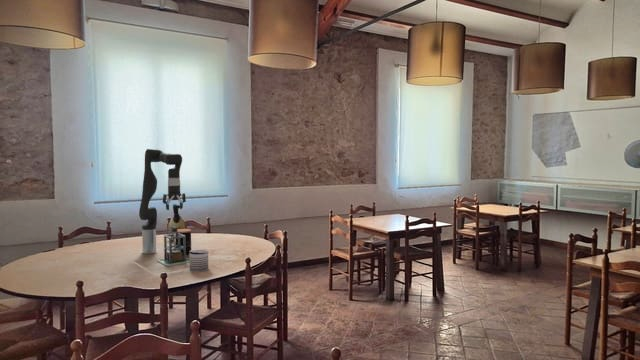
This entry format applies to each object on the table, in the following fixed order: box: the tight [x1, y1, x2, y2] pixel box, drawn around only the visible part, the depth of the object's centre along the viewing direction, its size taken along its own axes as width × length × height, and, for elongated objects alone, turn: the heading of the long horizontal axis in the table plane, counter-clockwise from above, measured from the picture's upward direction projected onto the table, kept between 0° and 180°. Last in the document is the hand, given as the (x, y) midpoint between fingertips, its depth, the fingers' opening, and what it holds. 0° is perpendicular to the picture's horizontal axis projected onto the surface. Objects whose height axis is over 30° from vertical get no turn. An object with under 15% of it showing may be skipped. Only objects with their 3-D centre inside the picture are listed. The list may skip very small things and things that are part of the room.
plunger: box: [172, 227, 180, 253], centre depth 284 cm, size 7×7×16 cm
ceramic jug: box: [167, 203, 188, 242], centre depth 355 cm, size 17×15×30 cm
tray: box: [156, 256, 190, 267], centre depth 285 cm, size 16×18×2 cm
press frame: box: [163, 233, 187, 264], centre depth 284 cm, size 11×11×17 cm
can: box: [189, 249, 209, 273], centre depth 270 cm, size 11×11×12 cm
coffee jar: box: [176, 228, 192, 257], centre depth 304 cm, size 11×11×18 cm
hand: (174, 209), depth 282 cm, fingers open, 8 cm apart
